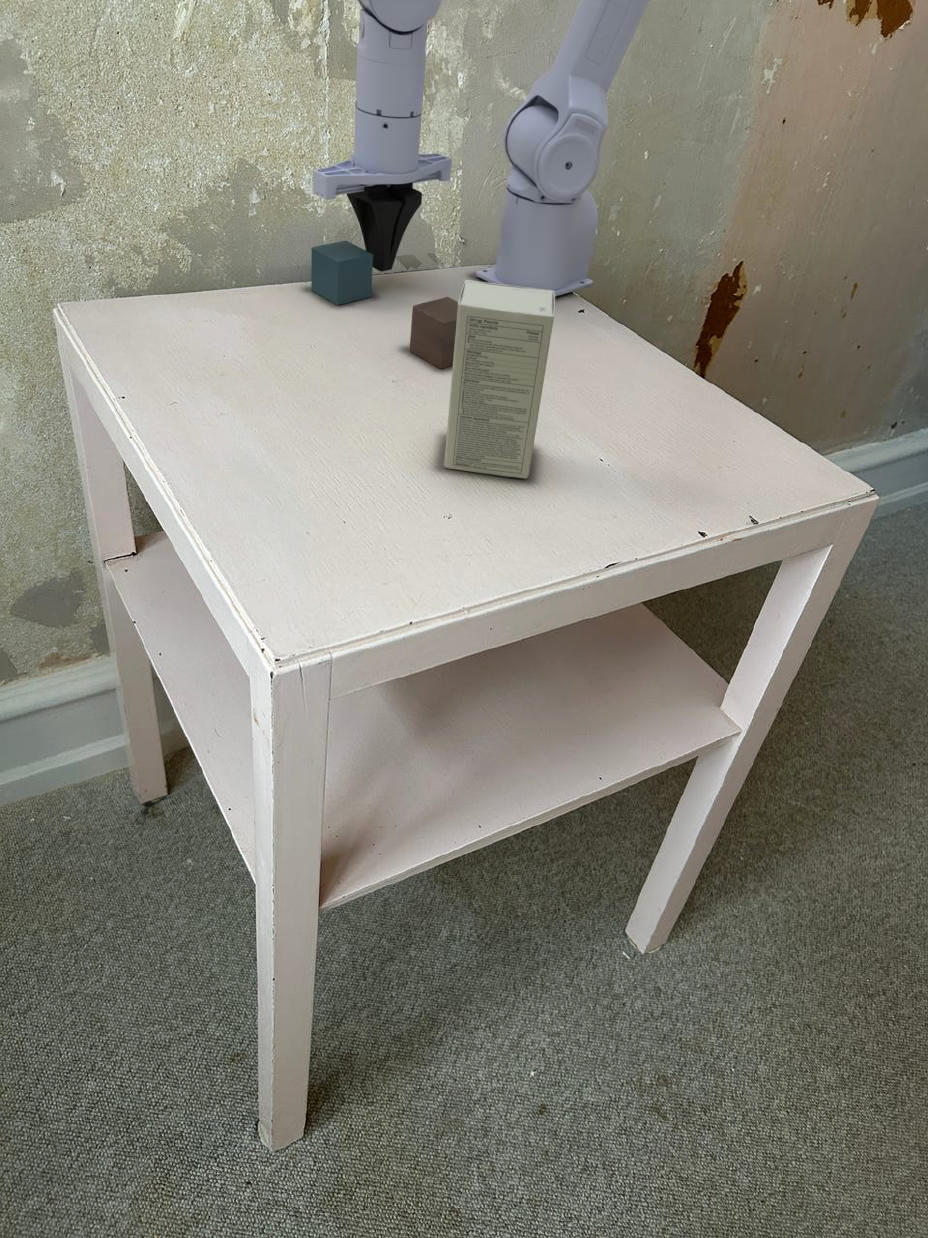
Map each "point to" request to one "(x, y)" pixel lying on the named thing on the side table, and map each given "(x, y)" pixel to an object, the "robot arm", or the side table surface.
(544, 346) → the cosmetic box
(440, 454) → the side table surface
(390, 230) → the robot arm
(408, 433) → the side table surface
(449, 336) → the walnut block
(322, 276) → the slate block
